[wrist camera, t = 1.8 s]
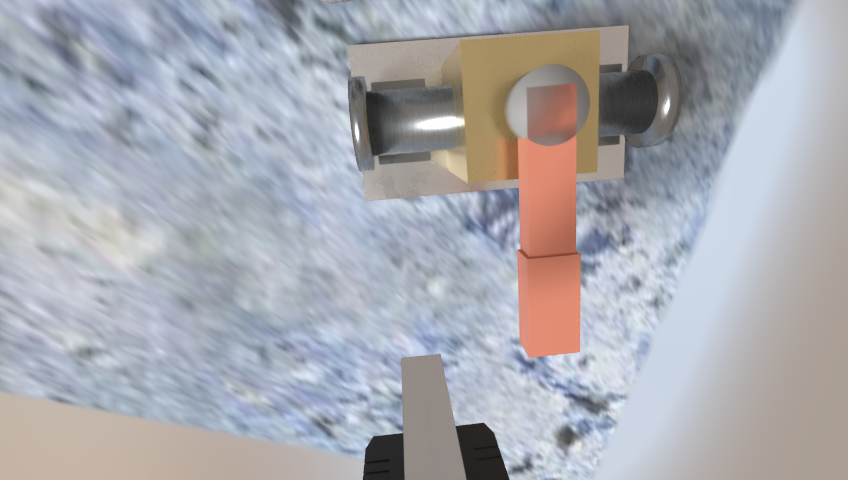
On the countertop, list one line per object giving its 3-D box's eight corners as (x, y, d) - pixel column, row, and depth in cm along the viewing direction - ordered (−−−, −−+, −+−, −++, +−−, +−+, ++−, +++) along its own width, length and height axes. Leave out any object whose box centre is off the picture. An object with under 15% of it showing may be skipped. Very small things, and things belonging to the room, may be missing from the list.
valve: (349, 47, 34) (325, 3, 22) (622, 27, 35) (738, -25, 23) (366, 199, 37) (353, 230, 25) (617, 176, 38) (719, 197, 26)
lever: (503, 72, 23) (513, 66, 21) (576, 66, 24) (592, 60, 22) (511, 342, 27) (520, 358, 25) (574, 335, 27) (588, 351, 26)
